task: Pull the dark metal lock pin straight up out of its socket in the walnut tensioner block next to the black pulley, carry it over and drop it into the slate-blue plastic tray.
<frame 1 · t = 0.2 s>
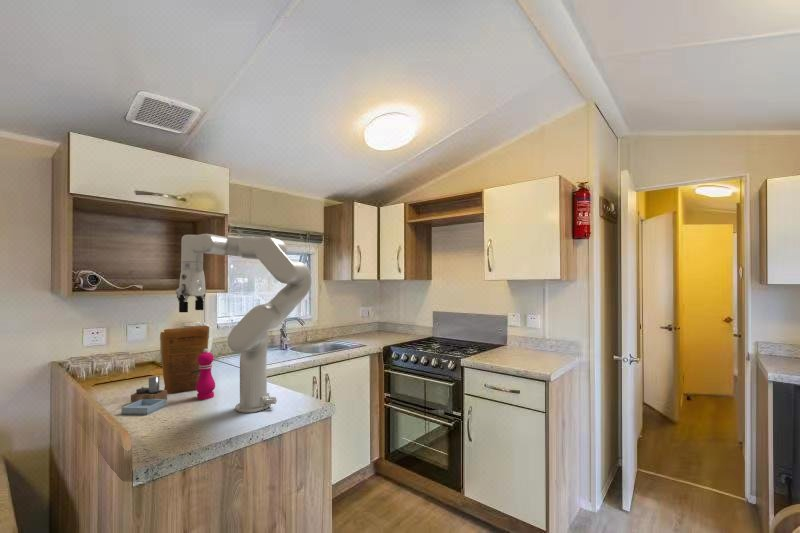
hand: (191, 311, 151), 36 cm above the countertop, tool pointing down, fingers open, 9 cm apart
pepper mill: (205, 397, 161), on the countertop
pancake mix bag: (185, 391, 171), on the countertop
tensioner block: (149, 402, 155), on the countertop
lock pin: (153, 402, 155), resting in tensioner block
tray: (144, 409, 146), on the countertop
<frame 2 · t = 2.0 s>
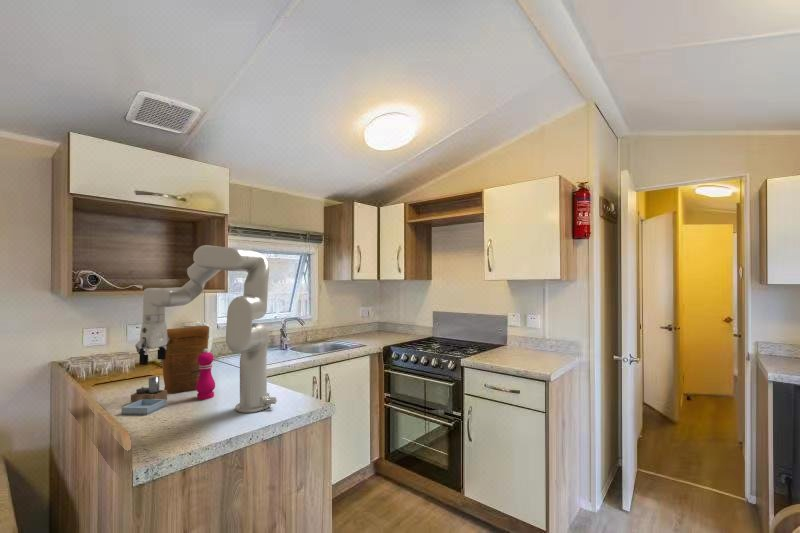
hand: (152, 361, 155), 16 cm above the countertop, tool pointing down, fingers open, 9 cm apart
nothing on the countertop moved.
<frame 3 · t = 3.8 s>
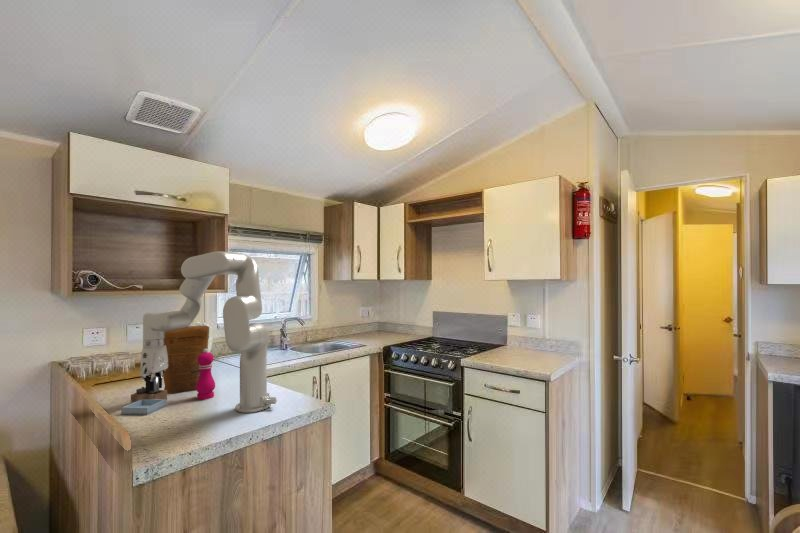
hand: (153, 389, 155), 5 cm above the countertop, tool pointing down, fingers closed on lock pin, 3 cm apart
lock pin: (153, 402, 155), resting in tensioner block, touching gripper
everything else where it was.
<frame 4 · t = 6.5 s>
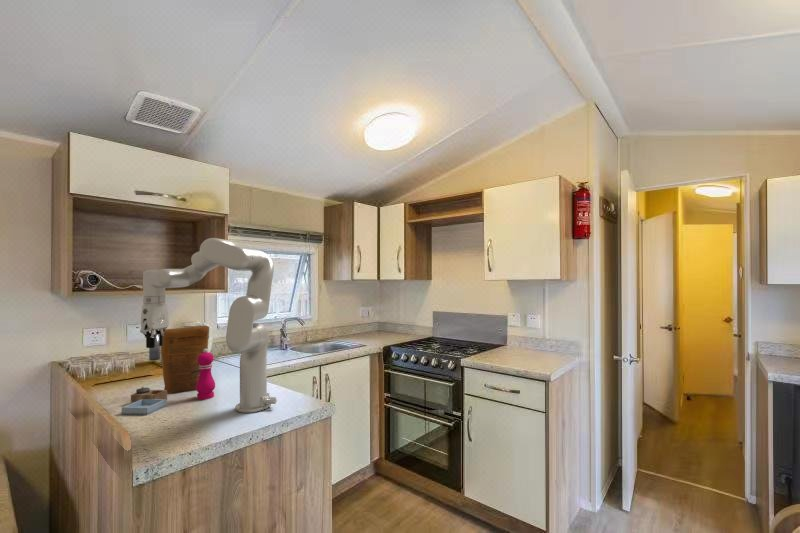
hand: (154, 346, 155), 22 cm above the countertop, tool pointing down, fingers closed on lock pin, 3 cm apart
lock pin: (154, 359, 155), point 17 cm above the countertop, touching gripper
everything else where it was.
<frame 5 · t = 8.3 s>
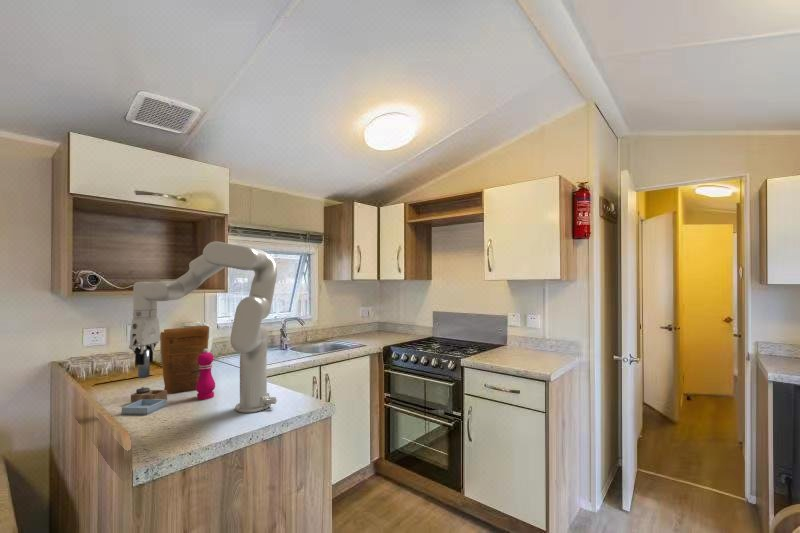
hand: (144, 362, 147), 18 cm above the countertop, tool pointing down, fingers closed on lock pin, 3 cm apart
lock pin: (143, 376, 146), point 12 cm above the countertop, touching gripper
everything else where it was.
when the fingers open (8 cm above the countertop, at t = 9.6 s): lock pin drops 2 cm, resting on tray.
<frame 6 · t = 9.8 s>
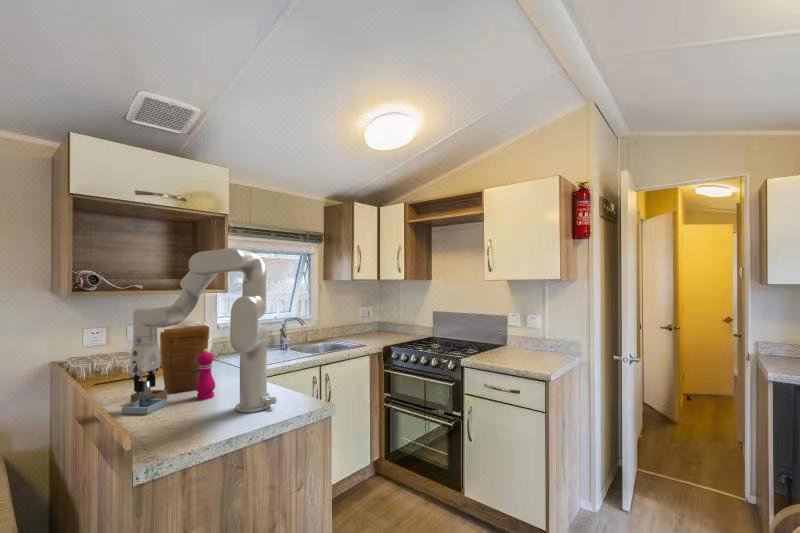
hand: (145, 388, 146), 8 cm above the countertop, tool pointing down, fingers open, 5 cm apart
lock pin: (144, 408, 146), point 1 cm above the countertop, touching tray
everything else where it was.
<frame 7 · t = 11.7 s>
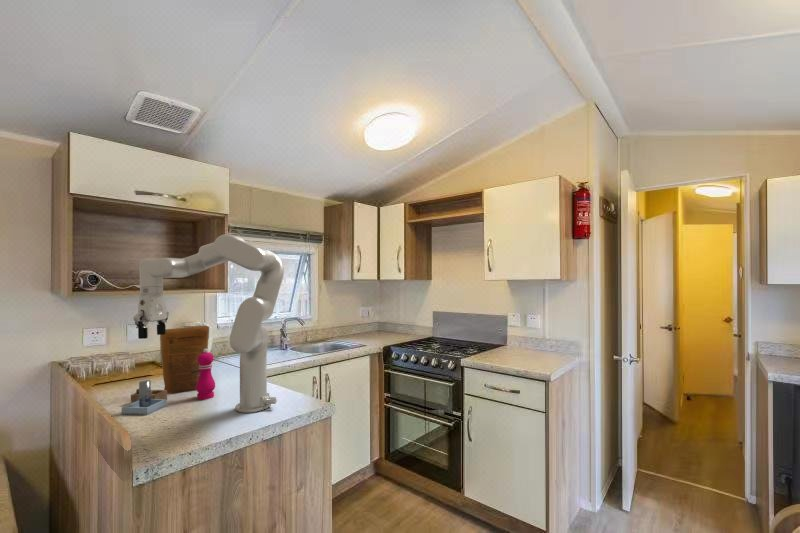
hand: (152, 336, 148), 27 cm above the countertop, tool pointing down, fingers open, 9 cm apart
nothing on the countertop moved.
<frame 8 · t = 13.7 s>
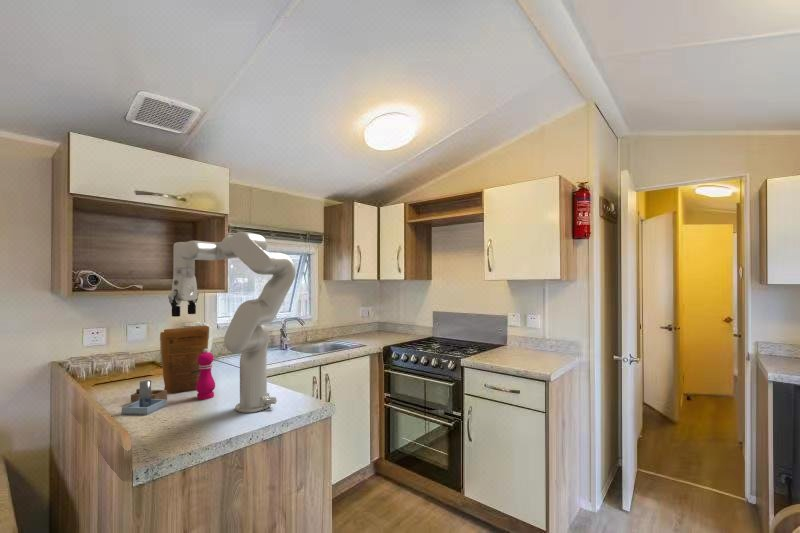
hand: (184, 315, 157), 34 cm above the countertop, tool pointing down, fingers open, 9 cm apart
nothing on the countertop moved.
at the end: lock pin inside the target area on the tray (0.0 cm from its centre), point 0.6 cm above the tray's base; the gripper is holding nothing; lock pin moved 9.1 cm from its start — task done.
